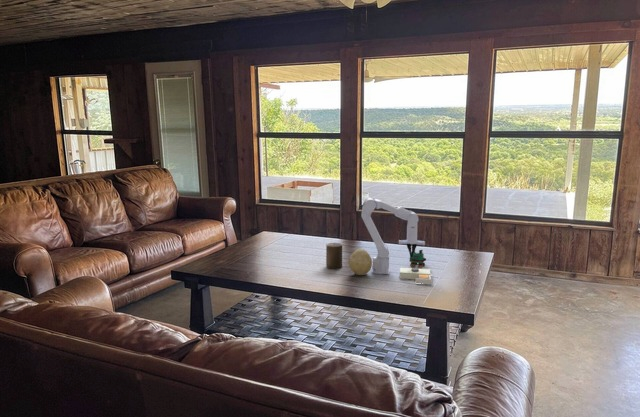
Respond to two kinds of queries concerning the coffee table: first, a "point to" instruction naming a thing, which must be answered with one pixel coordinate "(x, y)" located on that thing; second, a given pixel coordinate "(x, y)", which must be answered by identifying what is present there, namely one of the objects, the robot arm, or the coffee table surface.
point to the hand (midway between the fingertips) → (411, 256)
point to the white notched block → (415, 274)
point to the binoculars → (417, 259)
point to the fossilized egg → (360, 262)
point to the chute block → (424, 276)
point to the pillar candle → (334, 255)
